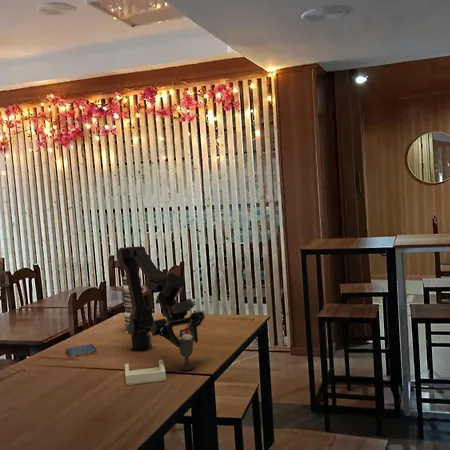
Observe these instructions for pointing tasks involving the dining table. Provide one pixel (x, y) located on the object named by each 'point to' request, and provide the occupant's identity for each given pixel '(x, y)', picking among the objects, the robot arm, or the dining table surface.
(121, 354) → the dining table surface
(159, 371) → the end cap
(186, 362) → the sundae
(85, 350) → the woven mat
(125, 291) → the decorative candle
